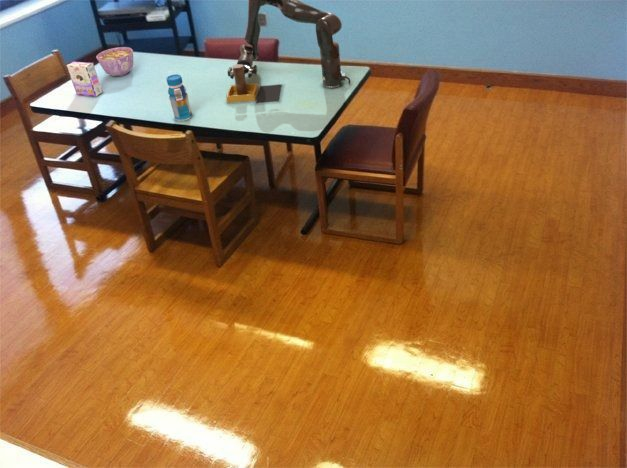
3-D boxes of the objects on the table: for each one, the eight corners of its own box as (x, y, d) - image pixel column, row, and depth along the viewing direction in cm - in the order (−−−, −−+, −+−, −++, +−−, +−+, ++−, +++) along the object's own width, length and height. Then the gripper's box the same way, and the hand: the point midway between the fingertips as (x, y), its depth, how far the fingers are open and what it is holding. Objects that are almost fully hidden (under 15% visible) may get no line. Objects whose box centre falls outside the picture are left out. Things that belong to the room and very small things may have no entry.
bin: (258, 89, 299) (257, 83, 297) (255, 101, 288) (254, 94, 286) (231, 91, 300) (230, 85, 298) (227, 103, 290) (226, 96, 288)
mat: (282, 85, 301) (281, 84, 301) (278, 102, 285) (278, 101, 285) (260, 87, 302) (260, 86, 302) (256, 104, 286) (255, 103, 286)
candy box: (103, 92, 316) (93, 62, 306) (96, 97, 312) (85, 66, 302) (83, 90, 322) (73, 60, 312) (76, 94, 318) (65, 65, 308)
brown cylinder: (248, 92, 296) (243, 63, 287) (247, 97, 292) (242, 67, 283) (238, 93, 296) (233, 64, 288) (237, 98, 292) (231, 68, 283)
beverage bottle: (171, 120, 280) (160, 80, 268) (180, 112, 286) (170, 72, 274) (186, 122, 277) (176, 81, 265) (195, 114, 283) (186, 73, 271)
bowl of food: (133, 78, 328) (127, 58, 321) (98, 82, 329) (91, 61, 323) (142, 65, 344) (136, 45, 337) (108, 68, 346) (102, 48, 339)
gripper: (229, 57, 302) (224, 70, 289) (257, 55, 301) (253, 67, 288) (232, 72, 306) (227, 84, 293) (259, 70, 305) (256, 82, 292)
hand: (240, 76), depth 291 cm, fingers open, 8 cm apart
